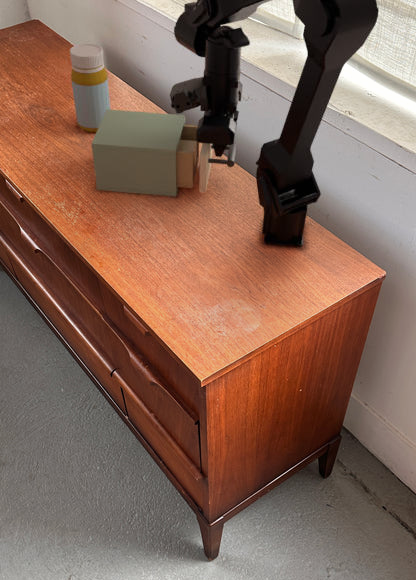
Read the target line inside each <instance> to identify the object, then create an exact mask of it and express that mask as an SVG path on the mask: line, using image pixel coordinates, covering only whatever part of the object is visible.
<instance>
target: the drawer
mask: <svg viewBox="0 0 416 580" xmlns="http://www.w3.org/2000/svg"><path fill="white" fill-rule="evenodd" d="M197 126H198V124H197V125H196V124H195V125H194V124H185V125H183V129H182V133H181V136H180V140H190V141H196V130H197ZM237 149H238V146H237V144H236V143H234V144H232V145H227V147H226V149H225V151H228V153H227V157H226V159H221V158H213V154H214V153H213V152H214V147H213V144H207V143H201V149H200V143H199V142H197V163H196V168H195V173H194V176H193V151H182V150H177V151H176V172H177V187H178V188H189V189H193V188H194V185H195V184H194V183H195V178H196V175H197V169H198V165H199V181H198V182H199V186H198V188H199V190H198V191H199V192H198V193H202V194H203V193H207V190H208V183H209V179H210V173H211V169H212V164H216V165H217V164H218V165H226V166H227V167H228V168H233V167H234V166H235V163H236V157H237Z"/></svg>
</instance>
